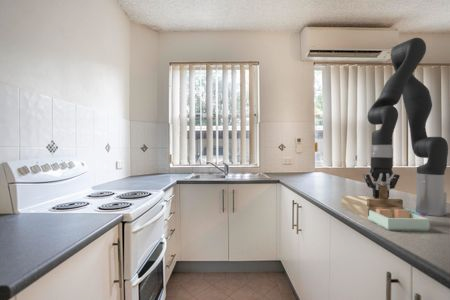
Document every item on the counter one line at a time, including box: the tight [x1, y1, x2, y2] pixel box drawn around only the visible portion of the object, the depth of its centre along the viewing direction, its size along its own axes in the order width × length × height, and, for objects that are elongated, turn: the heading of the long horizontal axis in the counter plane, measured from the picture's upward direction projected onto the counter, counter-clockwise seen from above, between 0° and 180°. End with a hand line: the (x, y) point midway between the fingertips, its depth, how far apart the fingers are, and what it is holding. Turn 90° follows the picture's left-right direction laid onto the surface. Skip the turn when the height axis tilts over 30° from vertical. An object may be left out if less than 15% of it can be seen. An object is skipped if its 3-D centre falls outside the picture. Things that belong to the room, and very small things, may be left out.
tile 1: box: [376, 209, 391, 218], centre depth 91 cm, size 4×4×2 cm
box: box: [367, 210, 430, 232], centre depth 89 cm, size 14×12×4 cm
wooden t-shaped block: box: [367, 183, 404, 208], centre depth 98 cm, size 13×6×8 cm, turn 89°
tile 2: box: [394, 209, 411, 218], centre depth 91 cm, size 4×4×2 cm
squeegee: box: [403, 206, 426, 217], centre depth 116 cm, size 29×2×10 cm
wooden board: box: [341, 195, 405, 221], centre depth 106 cm, size 14×22×5 cm, turn 179°
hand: (380, 198), depth 98 cm, fingers closed on wooden t-shaped block, 3 cm apart
